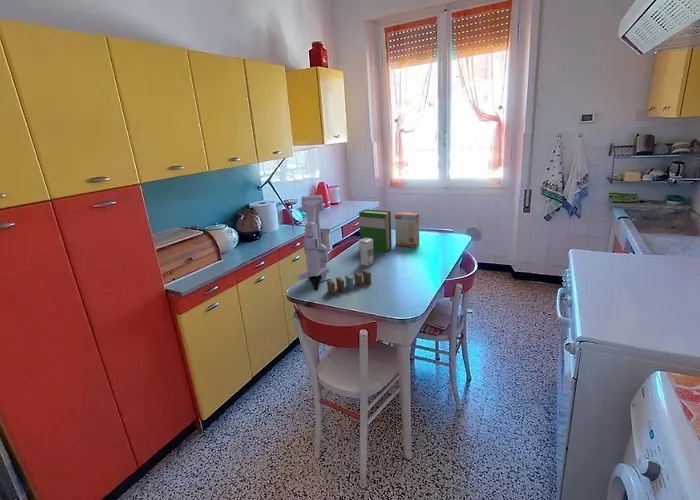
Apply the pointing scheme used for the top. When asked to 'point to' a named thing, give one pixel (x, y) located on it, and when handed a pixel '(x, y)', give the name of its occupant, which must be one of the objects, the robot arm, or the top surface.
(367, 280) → the tile
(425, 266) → the top surface
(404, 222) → the cracker box
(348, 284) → the teal tile
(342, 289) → the tile
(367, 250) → the syrup box
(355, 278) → the tile
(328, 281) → the tile
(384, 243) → the hardback book
